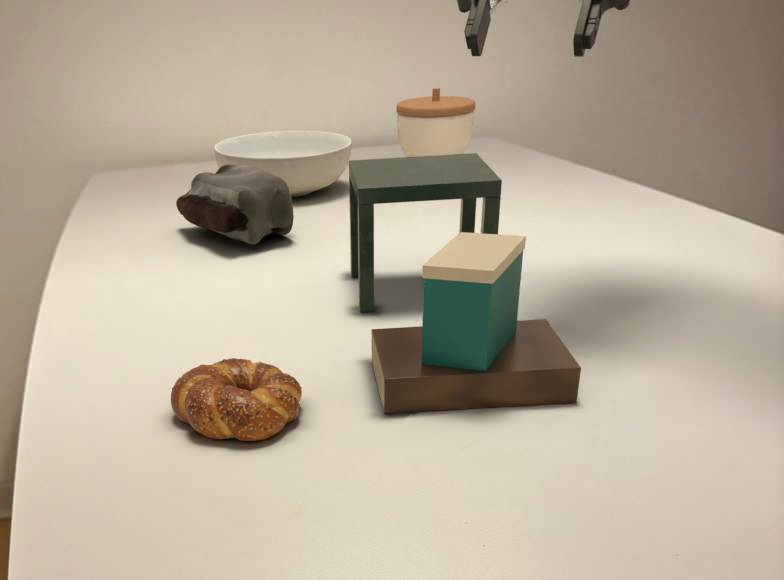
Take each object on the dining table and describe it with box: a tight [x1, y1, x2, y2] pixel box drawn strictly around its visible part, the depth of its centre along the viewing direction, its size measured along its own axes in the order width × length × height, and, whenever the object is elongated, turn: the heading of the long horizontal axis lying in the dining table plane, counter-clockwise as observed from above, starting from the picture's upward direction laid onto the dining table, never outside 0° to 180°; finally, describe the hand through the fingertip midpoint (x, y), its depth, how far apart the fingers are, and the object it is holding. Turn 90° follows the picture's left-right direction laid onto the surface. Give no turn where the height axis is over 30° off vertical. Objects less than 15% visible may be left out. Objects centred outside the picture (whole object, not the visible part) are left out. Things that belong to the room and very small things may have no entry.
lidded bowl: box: [395, 87, 476, 157], centre depth 154 cm, size 13×13×11 cm
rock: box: [175, 165, 294, 246], centre depth 124 cm, size 18×11×8 cm, turn 31°
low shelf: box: [371, 318, 582, 414], centre depth 82 cm, size 16×12×3 cm
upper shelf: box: [348, 152, 503, 313], centre depth 101 cm, size 14×14×12 cm
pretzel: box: [170, 357, 303, 442], centre depth 78 cm, size 12×11×4 cm
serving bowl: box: [213, 130, 353, 198], centre depth 144 cm, size 21×21×7 cm
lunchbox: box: [421, 232, 527, 371], centre depth 79 cm, size 10×6×8 cm, turn 156°
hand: (525, 49), depth 77 cm, fingers open, 8 cm apart
